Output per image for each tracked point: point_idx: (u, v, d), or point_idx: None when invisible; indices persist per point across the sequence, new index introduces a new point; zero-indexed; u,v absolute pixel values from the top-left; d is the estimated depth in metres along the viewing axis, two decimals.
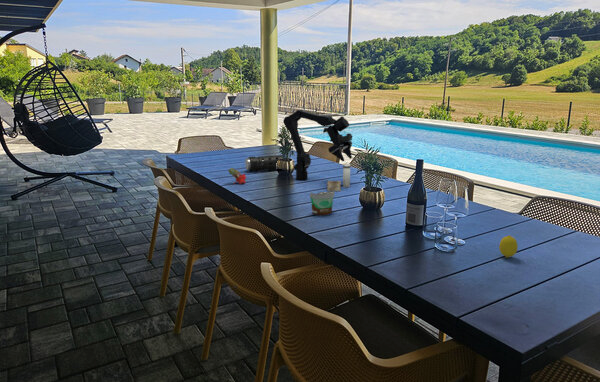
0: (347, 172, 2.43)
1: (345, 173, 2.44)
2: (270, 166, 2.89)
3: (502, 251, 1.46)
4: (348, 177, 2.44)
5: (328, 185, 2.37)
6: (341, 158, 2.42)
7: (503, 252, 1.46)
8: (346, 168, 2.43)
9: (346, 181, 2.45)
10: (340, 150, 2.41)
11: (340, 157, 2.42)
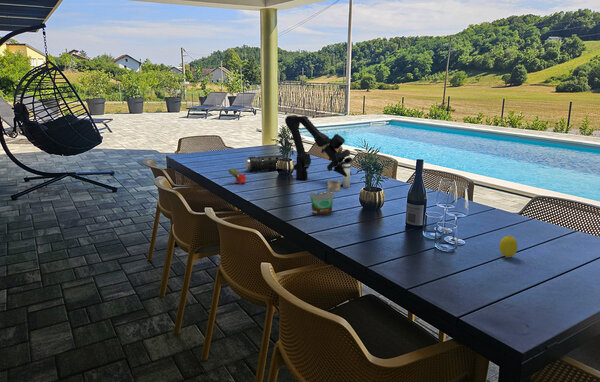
0: (347, 172, 2.43)
1: None
2: (270, 166, 2.89)
3: (502, 251, 1.46)
4: (348, 177, 2.44)
5: (328, 185, 2.37)
6: (343, 174, 2.43)
7: (503, 252, 1.46)
8: (346, 168, 2.43)
9: (346, 181, 2.45)
10: (341, 166, 2.43)
11: (342, 173, 2.43)
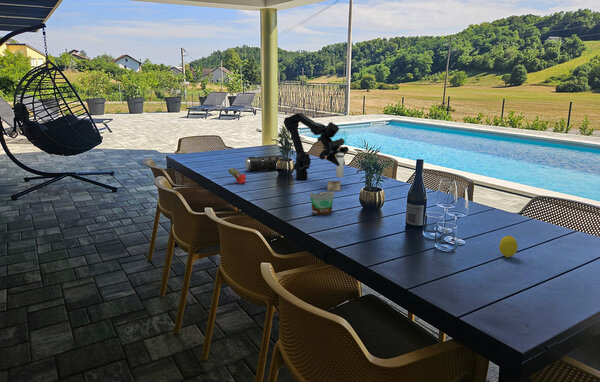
0: (340, 161, 2.38)
1: None
2: (270, 166, 2.89)
3: (502, 251, 1.46)
4: (341, 166, 2.39)
5: (328, 185, 2.37)
6: (336, 163, 2.38)
7: (503, 252, 1.46)
8: (339, 157, 2.37)
9: (339, 171, 2.39)
10: (333, 155, 2.38)
11: (335, 162, 2.38)
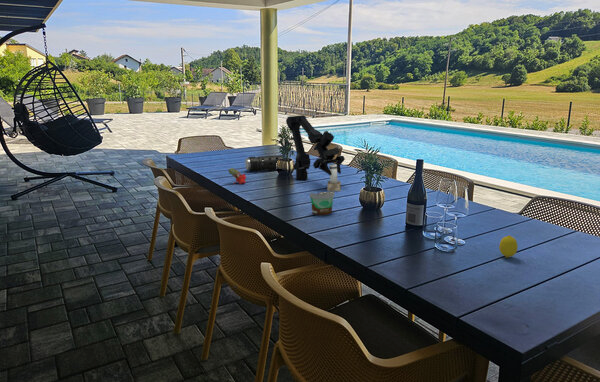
0: (333, 173, 2.37)
1: None
2: (270, 166, 2.89)
3: (502, 251, 1.46)
4: (334, 178, 2.38)
5: (328, 185, 2.37)
6: (328, 172, 2.37)
7: (503, 252, 1.46)
8: (331, 168, 2.37)
9: (332, 182, 2.39)
10: (326, 164, 2.36)
11: (327, 171, 2.37)
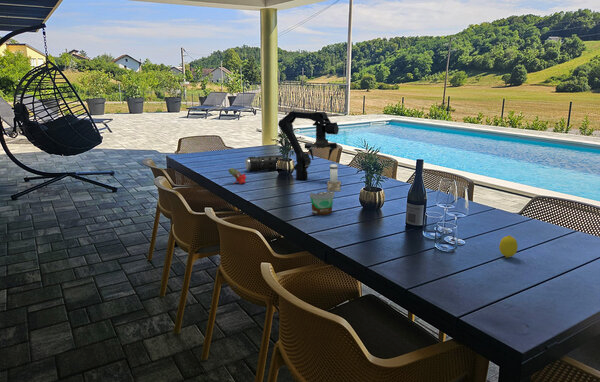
0: (333, 173, 2.37)
1: (331, 174, 2.38)
2: (270, 166, 2.89)
3: (502, 251, 1.46)
4: (334, 178, 2.38)
5: (328, 185, 2.37)
6: None
7: (503, 252, 1.46)
8: (332, 169, 2.37)
9: (332, 182, 2.38)
10: (310, 150, 2.54)
11: (311, 155, 2.57)
